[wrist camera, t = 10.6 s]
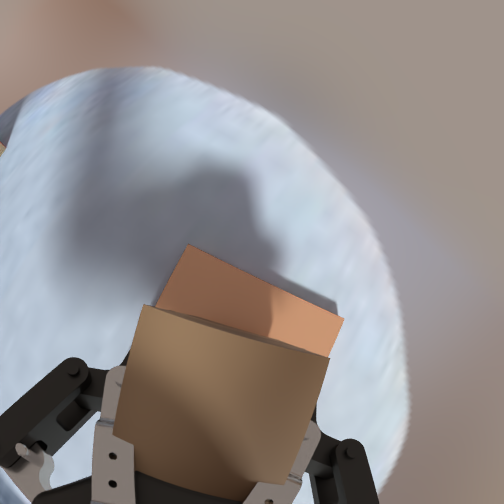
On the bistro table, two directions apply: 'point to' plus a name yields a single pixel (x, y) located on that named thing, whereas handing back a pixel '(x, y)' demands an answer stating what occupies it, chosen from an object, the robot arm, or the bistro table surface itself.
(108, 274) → the bistro table surface
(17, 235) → the bistro table surface
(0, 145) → the stack of blocks
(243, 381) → the walnut block
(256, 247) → the bistro table surface
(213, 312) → the terracotta tile
